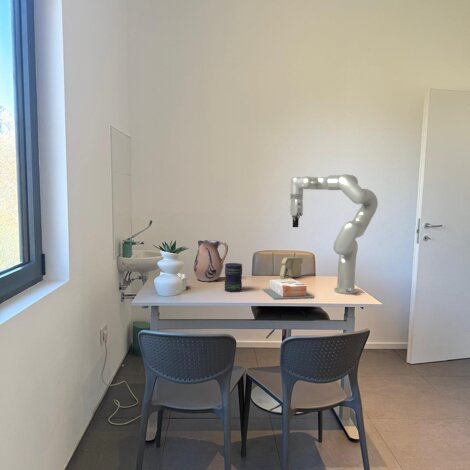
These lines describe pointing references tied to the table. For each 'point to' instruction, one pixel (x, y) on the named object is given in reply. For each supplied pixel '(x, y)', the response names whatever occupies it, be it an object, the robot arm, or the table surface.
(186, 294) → the table surface
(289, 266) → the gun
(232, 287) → the storage jar
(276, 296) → the mat
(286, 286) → the cracker box
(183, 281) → the white gift box
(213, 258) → the ceramic pitcher
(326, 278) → the table surface
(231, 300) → the table surface
